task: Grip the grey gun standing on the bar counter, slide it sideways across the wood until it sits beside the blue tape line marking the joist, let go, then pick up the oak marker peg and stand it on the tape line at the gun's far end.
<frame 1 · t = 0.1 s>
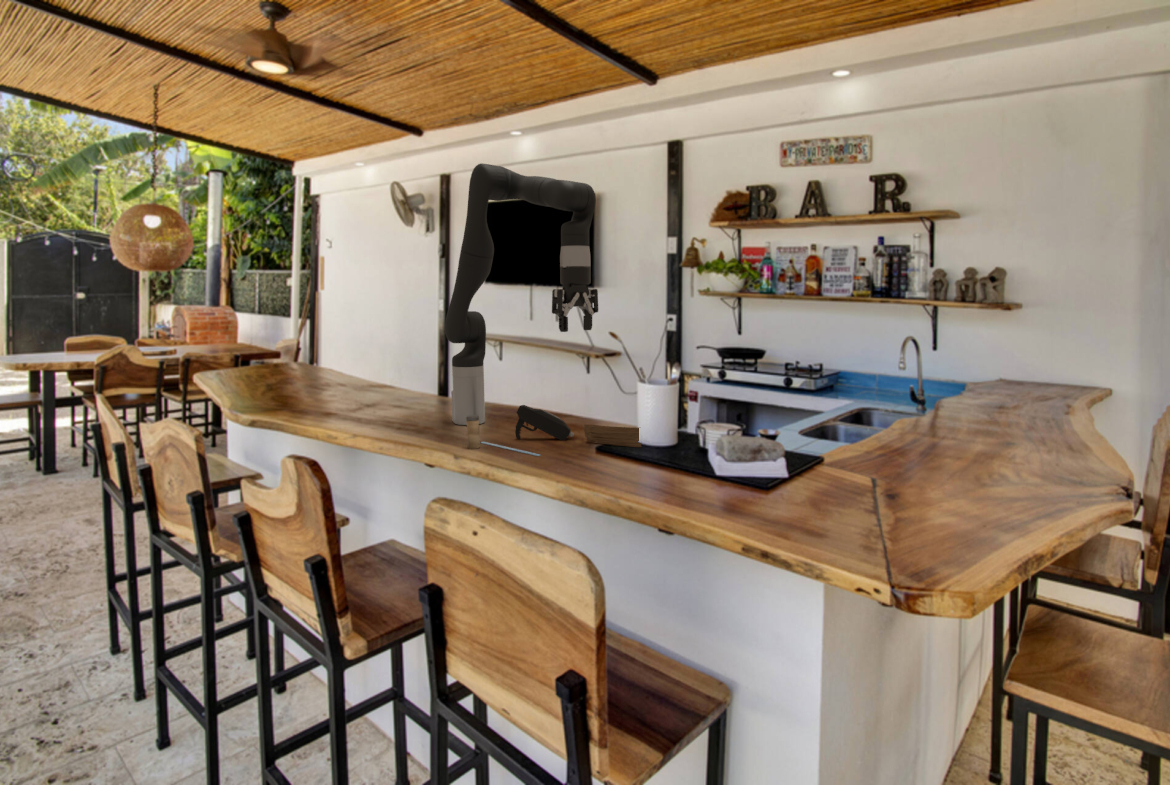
hand: (575, 330, 173), 29 cm above the table, tool pointing down, fingers open, 8 cm apart
gun: (544, 440, 184), on the table
tape line: (509, 448, 172), on the table
wood plank: (613, 445, 177), on the table
marker peg: (473, 447, 174), on the table
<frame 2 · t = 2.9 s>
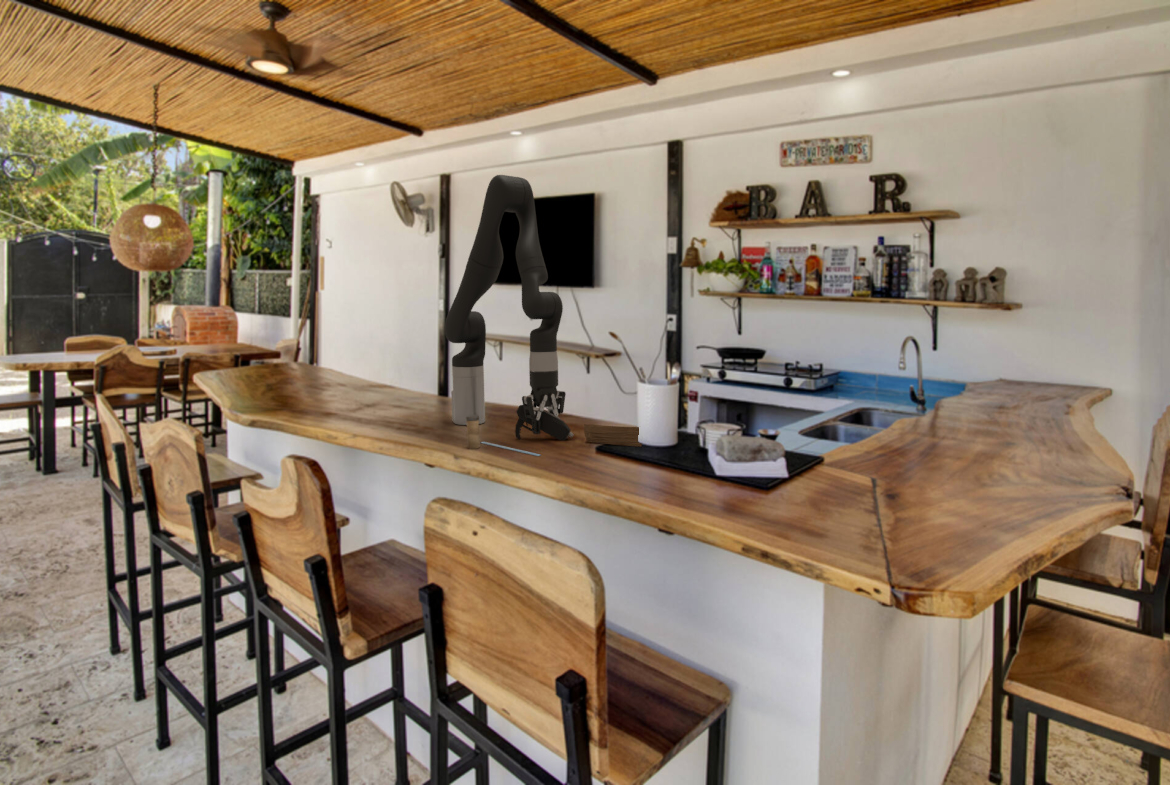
hand: (544, 431, 183), 2 cm above the table, tool pointing down, fingers closed on gun, 5 cm apart
gun: (544, 440, 184), on the table, touching gripper
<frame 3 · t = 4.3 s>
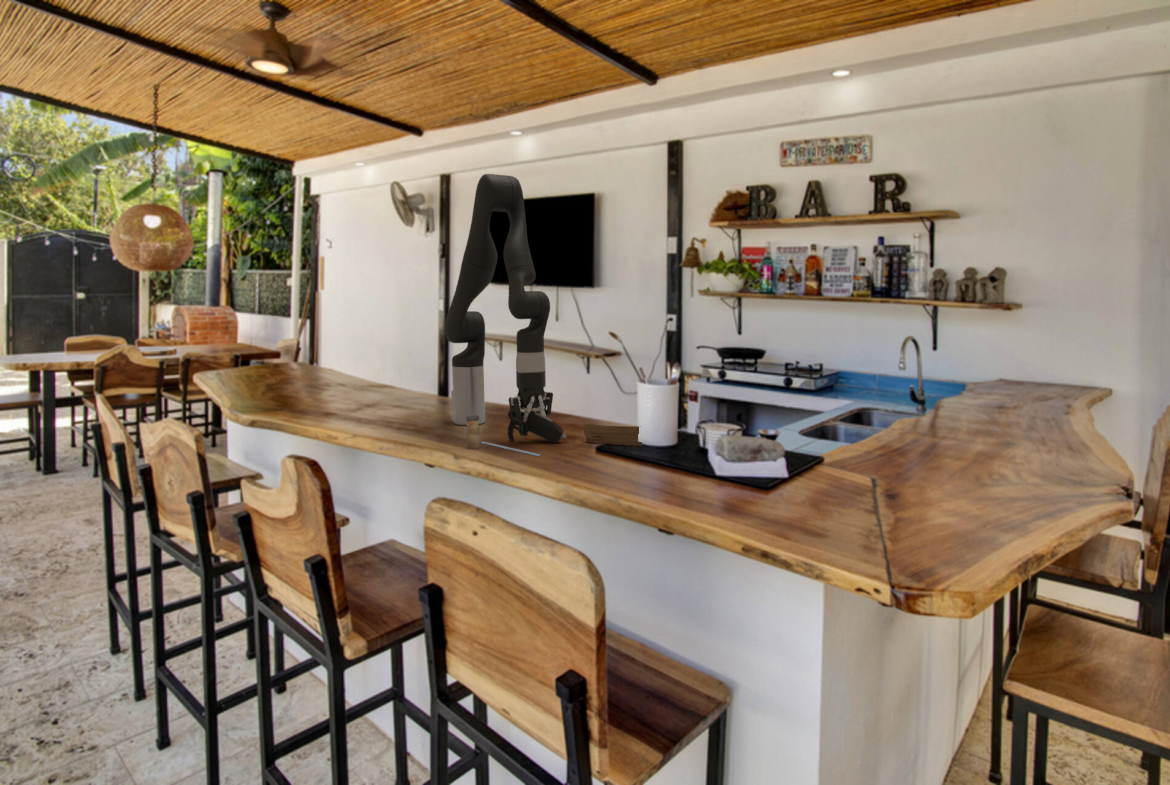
hand: (532, 433, 180), 2 cm above the table, tool pointing down, fingers closed on gun, 5 cm apart
gun: (537, 441, 181), on the table, touching gripper
everything else where it was.
when the fingers open (2 cm above the table, at t = 5.4 s): gun stays where it is, on the table.
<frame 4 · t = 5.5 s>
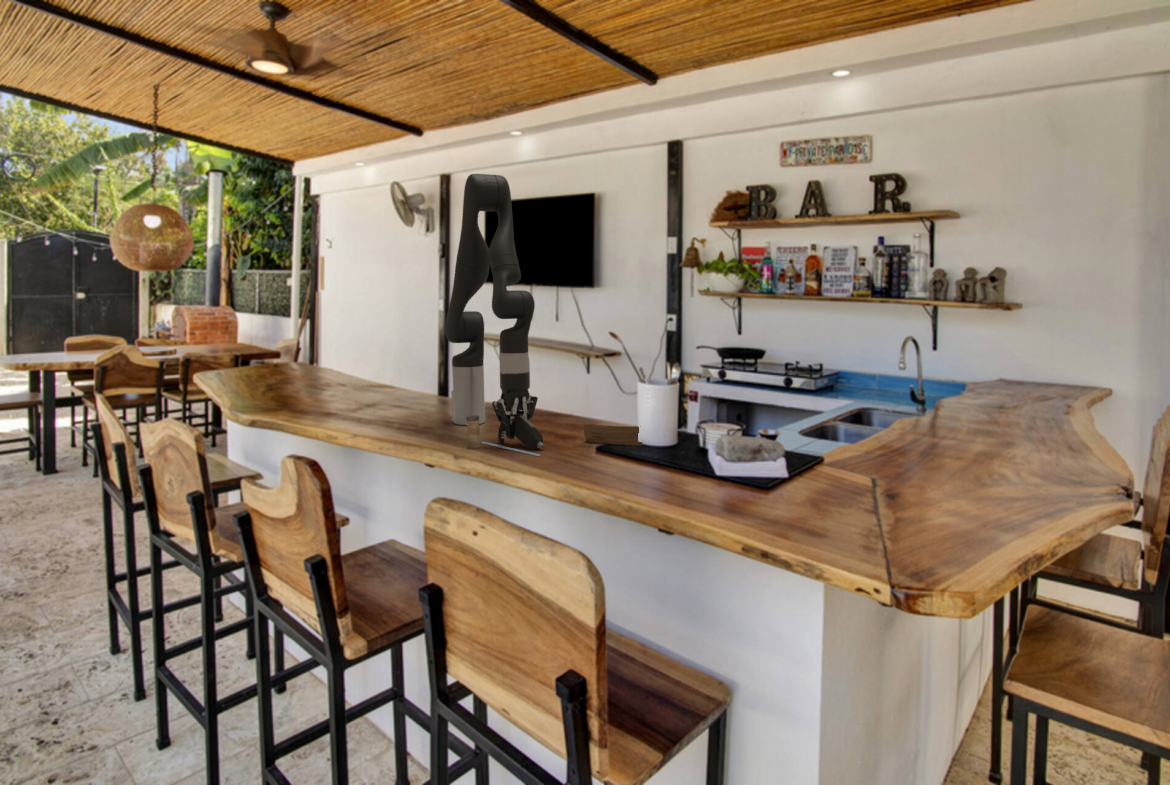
hand: (516, 437, 176), 2 cm above the table, tool pointing down, fingers open, 3 cm apart
gun: (520, 447, 175), on the table
everything else where it was.
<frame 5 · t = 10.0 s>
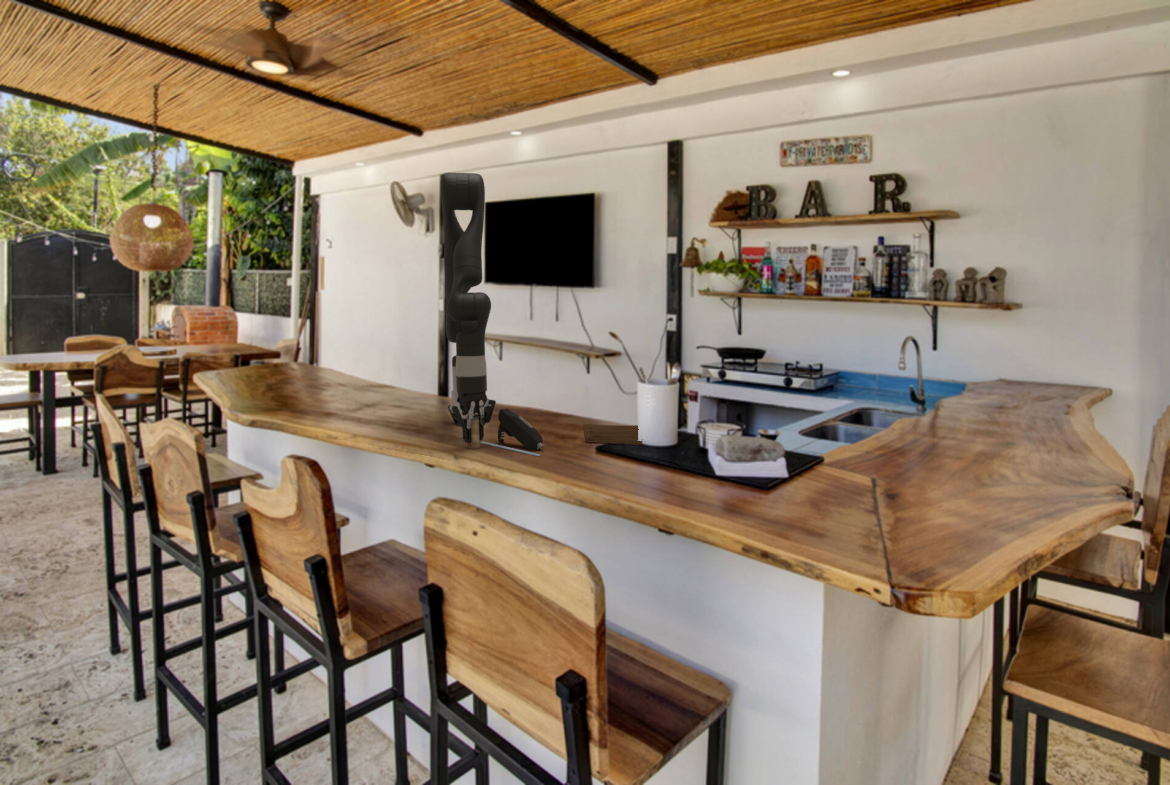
hand: (473, 441, 174), 2 cm above the table, tool pointing down, fingers closed on marker peg, 3 cm apart
marker peg: (473, 447, 174), on the table, touching gripper
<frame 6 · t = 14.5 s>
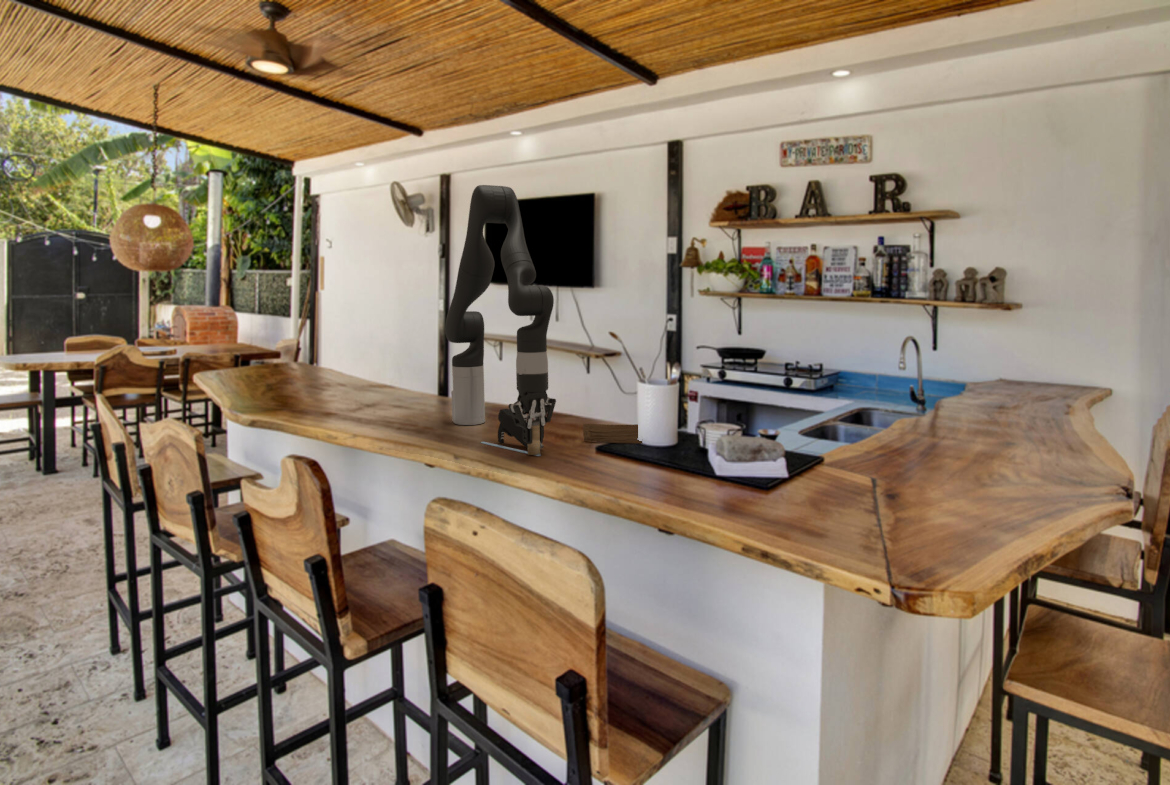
hand: (533, 441, 166), 3 cm above the table, tool pointing down, fingers closed on marker peg, 3 cm apart
marker peg: (533, 453, 166), on the table, touching gripper
when the fingers open (3 cm above the table, at t = 14.5 s): marker peg stays where it is, resting on tape line.
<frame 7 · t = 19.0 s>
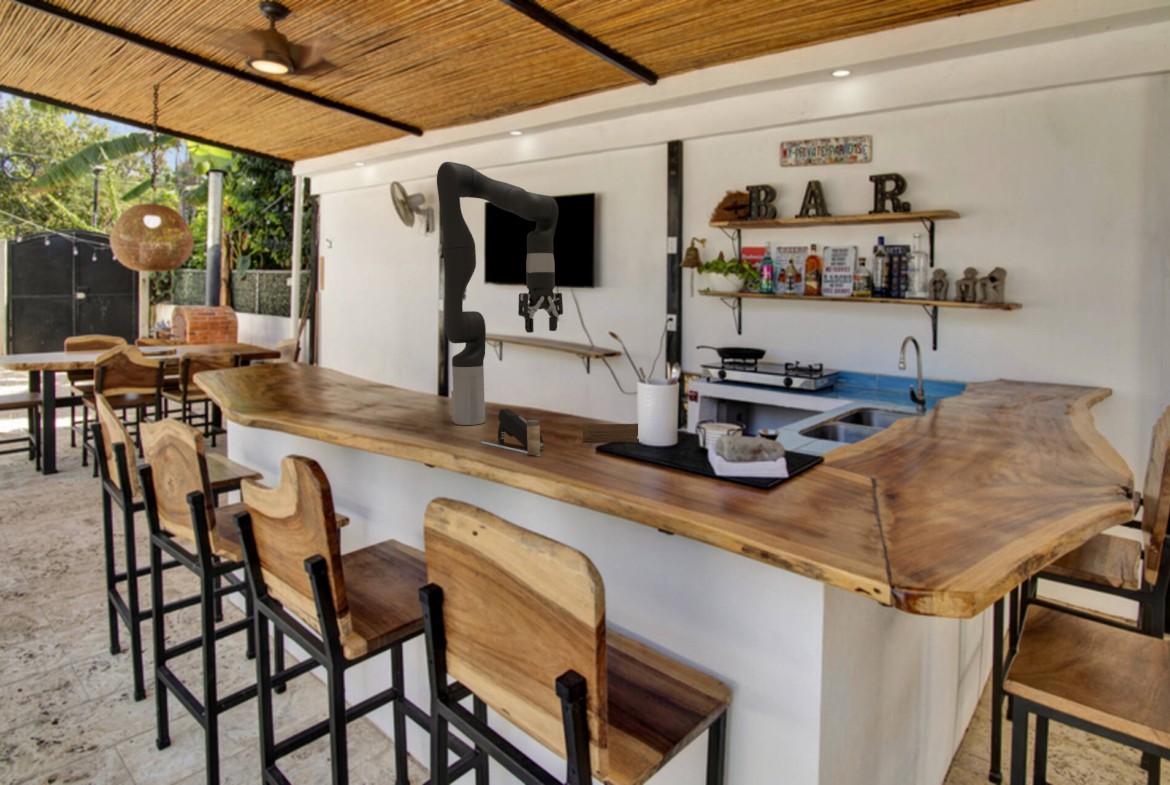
hand: (541, 331, 187), 28 cm above the table, tool pointing down, fingers open, 8 cm apart
marker peg: (533, 453, 166), resting on tape line
at the end: gun inside the target area (2.1 cm from its centre), on the table; marker peg inside the target area (0.0 cm from its centre), on the table; marker peg tilted 0° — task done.
